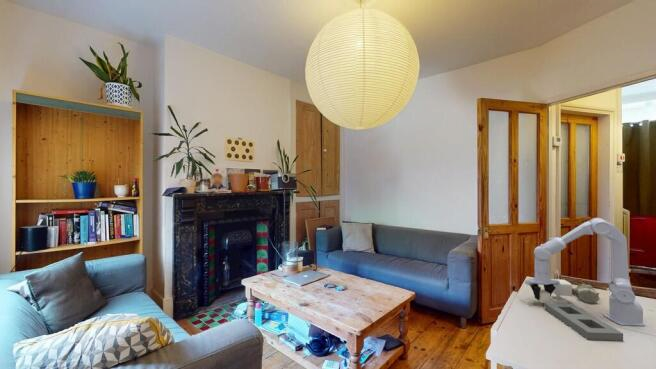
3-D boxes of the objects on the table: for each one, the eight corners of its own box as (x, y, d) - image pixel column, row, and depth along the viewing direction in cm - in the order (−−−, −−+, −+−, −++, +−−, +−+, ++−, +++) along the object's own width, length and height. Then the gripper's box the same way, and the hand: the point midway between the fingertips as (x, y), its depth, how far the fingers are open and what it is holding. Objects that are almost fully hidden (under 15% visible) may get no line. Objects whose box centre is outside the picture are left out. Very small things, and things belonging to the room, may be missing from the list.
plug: (543, 300, 134) (543, 289, 133) (550, 304, 129) (550, 293, 128) (534, 300, 134) (534, 289, 134) (541, 304, 129) (541, 293, 129)
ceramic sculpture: (574, 284, 133) (569, 276, 145) (574, 302, 133) (569, 292, 145) (605, 289, 127) (596, 280, 139) (605, 307, 127) (596, 297, 139)
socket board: (572, 310, 125) (572, 303, 125) (623, 341, 101) (623, 333, 101) (544, 309, 127) (544, 303, 126) (588, 340, 103) (588, 332, 103)
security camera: (572, 304, 131) (572, 284, 131) (555, 303, 132) (555, 283, 132) (563, 298, 137) (563, 279, 137) (547, 297, 138) (547, 278, 138)
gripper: (552, 268, 134) (552, 295, 134) (520, 268, 136) (521, 295, 136) (562, 273, 127) (563, 302, 127) (529, 273, 129) (530, 301, 129)
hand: (542, 299), depth 131 cm, fingers closed on plug, 4 cm apart
